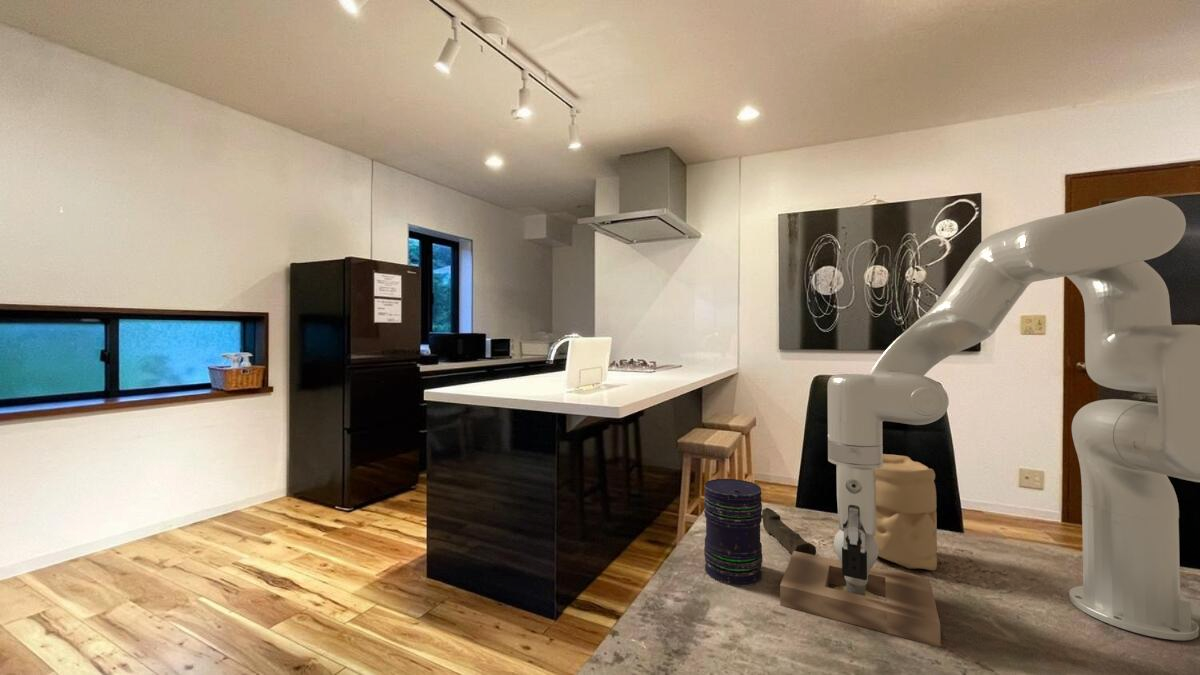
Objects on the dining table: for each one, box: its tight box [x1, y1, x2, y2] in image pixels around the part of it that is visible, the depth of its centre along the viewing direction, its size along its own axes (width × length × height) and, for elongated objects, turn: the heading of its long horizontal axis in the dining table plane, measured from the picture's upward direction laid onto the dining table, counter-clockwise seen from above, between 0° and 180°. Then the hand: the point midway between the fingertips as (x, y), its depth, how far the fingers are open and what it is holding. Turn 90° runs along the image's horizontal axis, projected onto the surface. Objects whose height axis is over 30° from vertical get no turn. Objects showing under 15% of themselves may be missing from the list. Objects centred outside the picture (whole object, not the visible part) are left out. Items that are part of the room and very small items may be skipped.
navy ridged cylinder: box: [703, 478, 763, 587], centre depth 83 cm, size 10×10×15 cm
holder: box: [779, 551, 942, 648], centre depth 73 cm, size 20×14×3 cm
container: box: [873, 453, 938, 572], centre depth 88 cm, size 13×13×18 cm
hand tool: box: [761, 507, 817, 556], centre depth 95 cm, size 19×4×5 cm, turn 1°
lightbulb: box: [833, 526, 879, 596], centre depth 73 cm, size 6×6×11 cm
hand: (855, 563), depth 73 cm, fingers open, 9 cm apart
